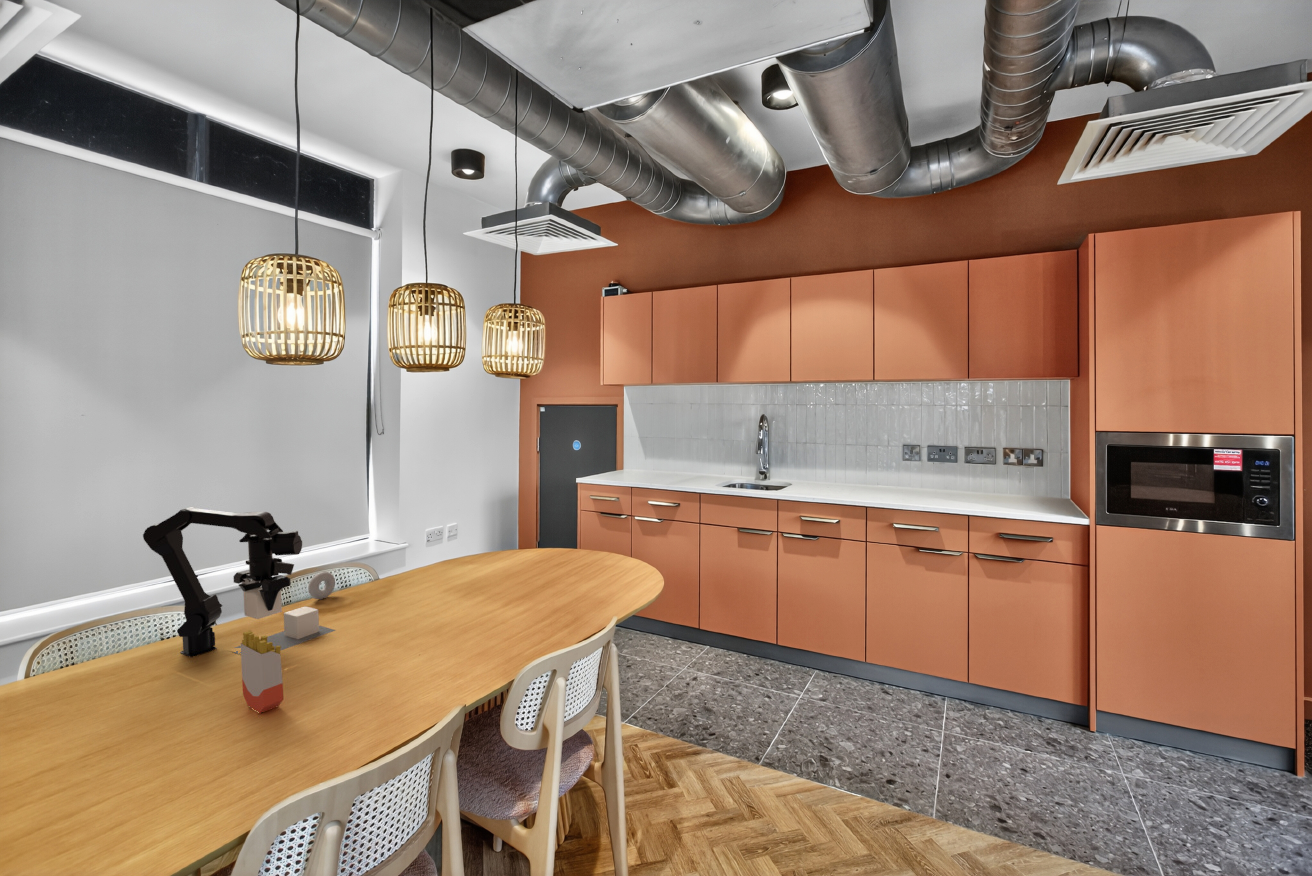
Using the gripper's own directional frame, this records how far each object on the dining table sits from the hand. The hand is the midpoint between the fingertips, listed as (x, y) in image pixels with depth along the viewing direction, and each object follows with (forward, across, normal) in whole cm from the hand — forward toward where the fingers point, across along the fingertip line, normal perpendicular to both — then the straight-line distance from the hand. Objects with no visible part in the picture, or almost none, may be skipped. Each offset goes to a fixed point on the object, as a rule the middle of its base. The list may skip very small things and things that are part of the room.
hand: (263, 608), depth 172 cm
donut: (+12, +26, -34) cm, 45 cm away
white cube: (+2, 0, 0) cm, 2 cm away
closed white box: (+12, 0, -11) cm, 16 cm away
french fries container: (+12, -35, +20) cm, 42 cm away
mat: (+12, 0, -6) cm, 13 cm away
